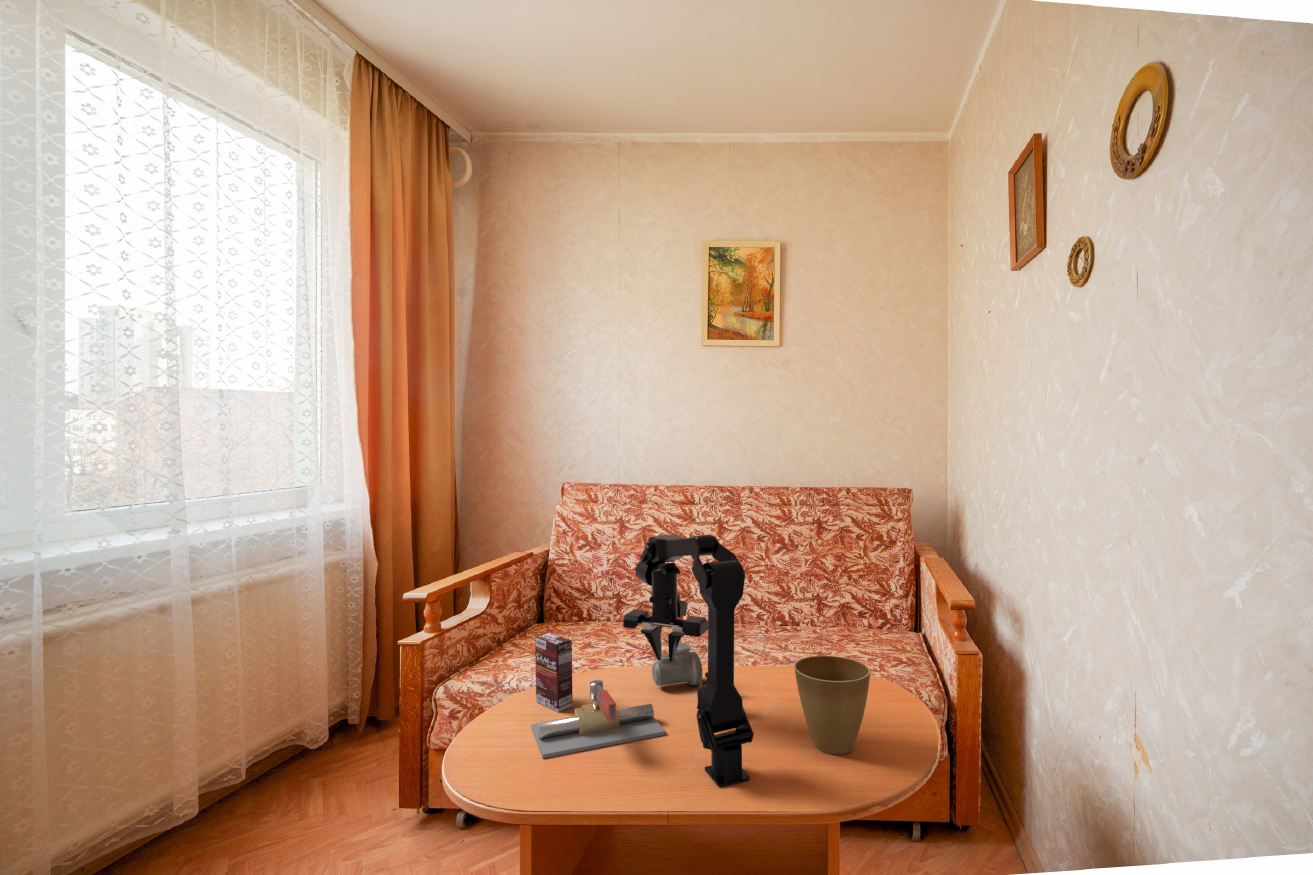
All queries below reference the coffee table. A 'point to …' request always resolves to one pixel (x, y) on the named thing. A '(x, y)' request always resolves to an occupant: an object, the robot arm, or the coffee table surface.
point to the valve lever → (603, 700)
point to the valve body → (593, 720)
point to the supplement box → (553, 671)
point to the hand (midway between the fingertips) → (665, 660)
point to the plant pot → (833, 699)
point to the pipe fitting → (678, 667)
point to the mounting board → (596, 737)
